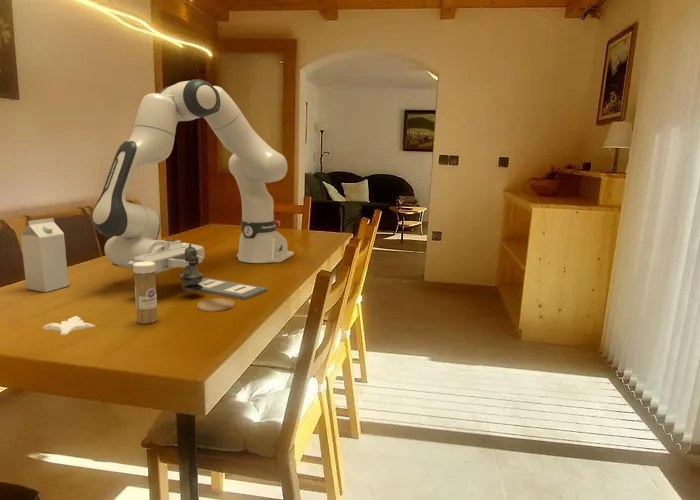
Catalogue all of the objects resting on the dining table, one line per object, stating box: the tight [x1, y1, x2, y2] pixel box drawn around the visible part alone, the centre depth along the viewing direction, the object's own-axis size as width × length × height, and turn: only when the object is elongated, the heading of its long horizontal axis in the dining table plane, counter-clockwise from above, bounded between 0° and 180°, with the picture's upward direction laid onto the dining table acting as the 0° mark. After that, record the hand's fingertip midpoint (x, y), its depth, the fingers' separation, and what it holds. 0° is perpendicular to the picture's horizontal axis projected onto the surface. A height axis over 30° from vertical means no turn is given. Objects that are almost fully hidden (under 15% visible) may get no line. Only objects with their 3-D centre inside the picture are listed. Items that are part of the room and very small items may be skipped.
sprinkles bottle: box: [132, 261, 159, 325], centre depth 107 cm, size 5×5×13 cm
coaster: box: [196, 297, 236, 313], centre depth 120 cm, size 9×9×1 cm
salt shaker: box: [179, 243, 204, 292], centre depth 126 cm, size 6×6×12 cm
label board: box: [181, 277, 268, 300], centre depth 135 cm, size 10×22×1 cm, turn 65°
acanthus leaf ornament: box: [42, 315, 96, 336], centre depth 103 cm, size 8×7×2 cm
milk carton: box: [20, 217, 70, 293], centre depth 130 cm, size 7×7×19 cm
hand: (193, 261), depth 126 cm, fingers closed on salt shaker, 4 cm apart
